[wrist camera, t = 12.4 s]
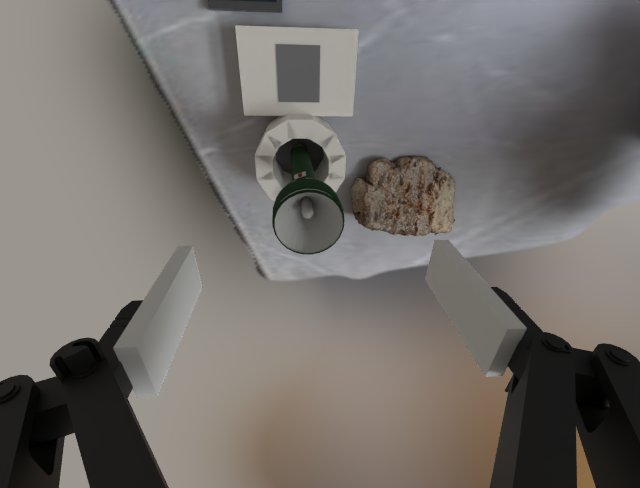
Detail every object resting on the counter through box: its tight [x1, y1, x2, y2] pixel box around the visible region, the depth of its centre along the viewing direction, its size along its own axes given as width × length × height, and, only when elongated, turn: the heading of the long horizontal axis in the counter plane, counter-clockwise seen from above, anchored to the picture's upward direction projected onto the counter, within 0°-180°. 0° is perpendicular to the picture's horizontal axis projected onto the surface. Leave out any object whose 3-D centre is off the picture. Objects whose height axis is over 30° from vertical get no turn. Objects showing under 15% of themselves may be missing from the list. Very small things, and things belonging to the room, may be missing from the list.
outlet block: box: [235, 25, 359, 201], centre depth 33 cm, size 12×17×6 cm
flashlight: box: [273, 144, 344, 254], centre depth 29 cm, size 5×5×20 cm
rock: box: [351, 156, 455, 236], centre depth 40 cm, size 15×10×6 cm
